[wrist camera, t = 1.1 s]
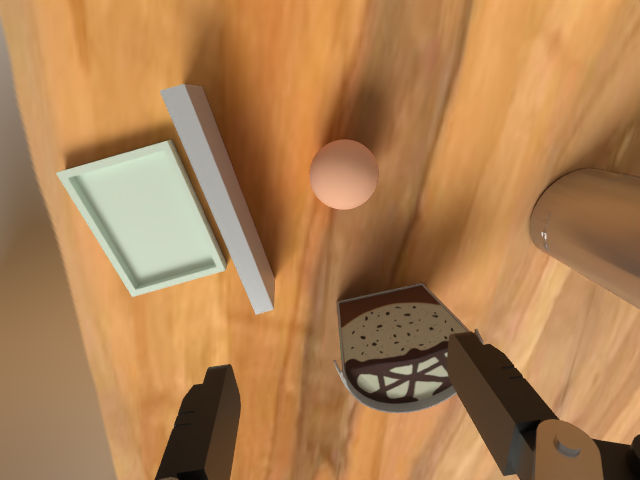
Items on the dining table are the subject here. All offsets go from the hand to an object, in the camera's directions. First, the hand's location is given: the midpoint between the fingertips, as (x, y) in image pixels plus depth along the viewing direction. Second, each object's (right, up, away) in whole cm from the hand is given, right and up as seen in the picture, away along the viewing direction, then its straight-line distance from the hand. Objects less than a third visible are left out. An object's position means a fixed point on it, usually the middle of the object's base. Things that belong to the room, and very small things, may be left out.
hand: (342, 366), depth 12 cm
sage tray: (-16, +6, +17) cm, 24 cm away
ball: (+1, +11, +17) cm, 20 cm away
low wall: (-8, +8, +17) cm, 20 cm away
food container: (+6, -4, +24) cm, 25 cm away
